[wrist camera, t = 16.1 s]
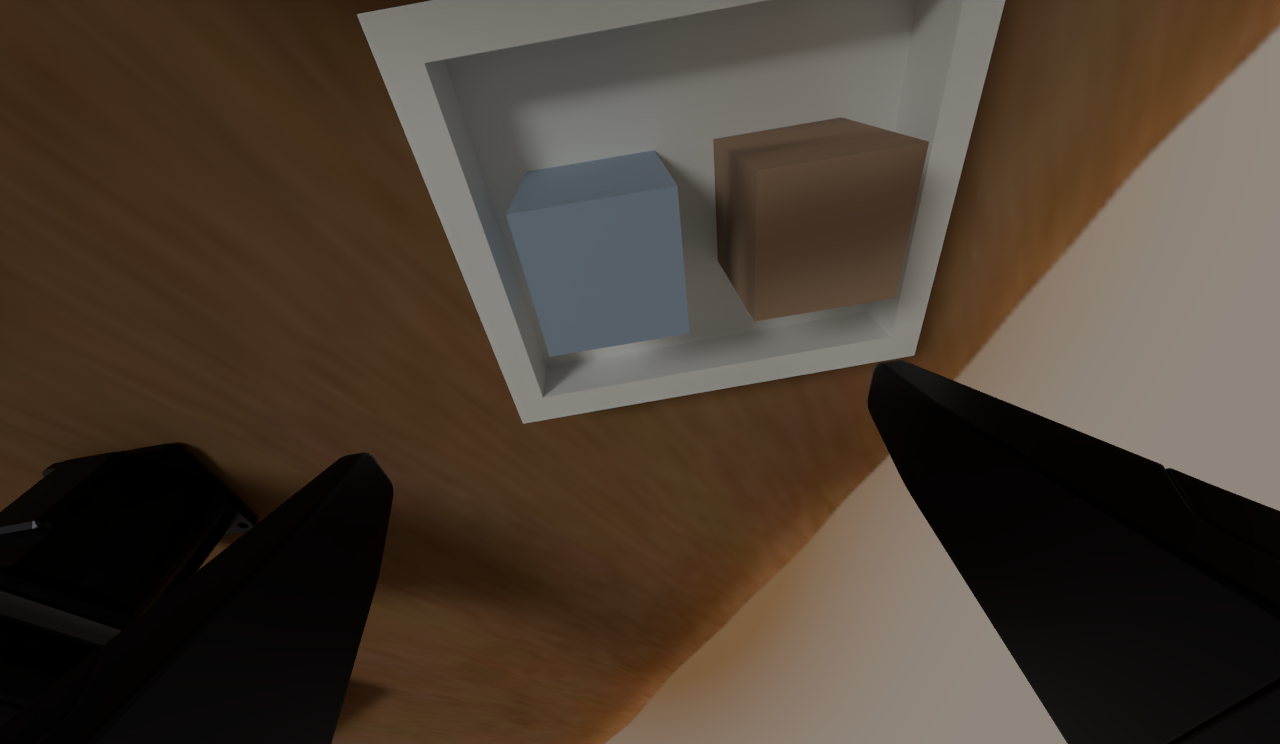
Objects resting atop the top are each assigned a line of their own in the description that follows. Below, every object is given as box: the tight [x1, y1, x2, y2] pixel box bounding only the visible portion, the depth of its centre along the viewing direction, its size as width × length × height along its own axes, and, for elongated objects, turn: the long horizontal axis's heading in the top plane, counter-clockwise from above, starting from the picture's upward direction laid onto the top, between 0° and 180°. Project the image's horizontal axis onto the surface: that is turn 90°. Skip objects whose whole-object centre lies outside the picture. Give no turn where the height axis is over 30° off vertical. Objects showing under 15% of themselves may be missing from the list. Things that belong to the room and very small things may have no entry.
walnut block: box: [713, 117, 929, 322], centre depth 15 cm, size 4×4×5 cm
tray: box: [357, 0, 1005, 424], centre depth 17 cm, size 14×17×3 cm
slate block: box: [506, 150, 690, 357], centre depth 15 cm, size 4×4×5 cm
